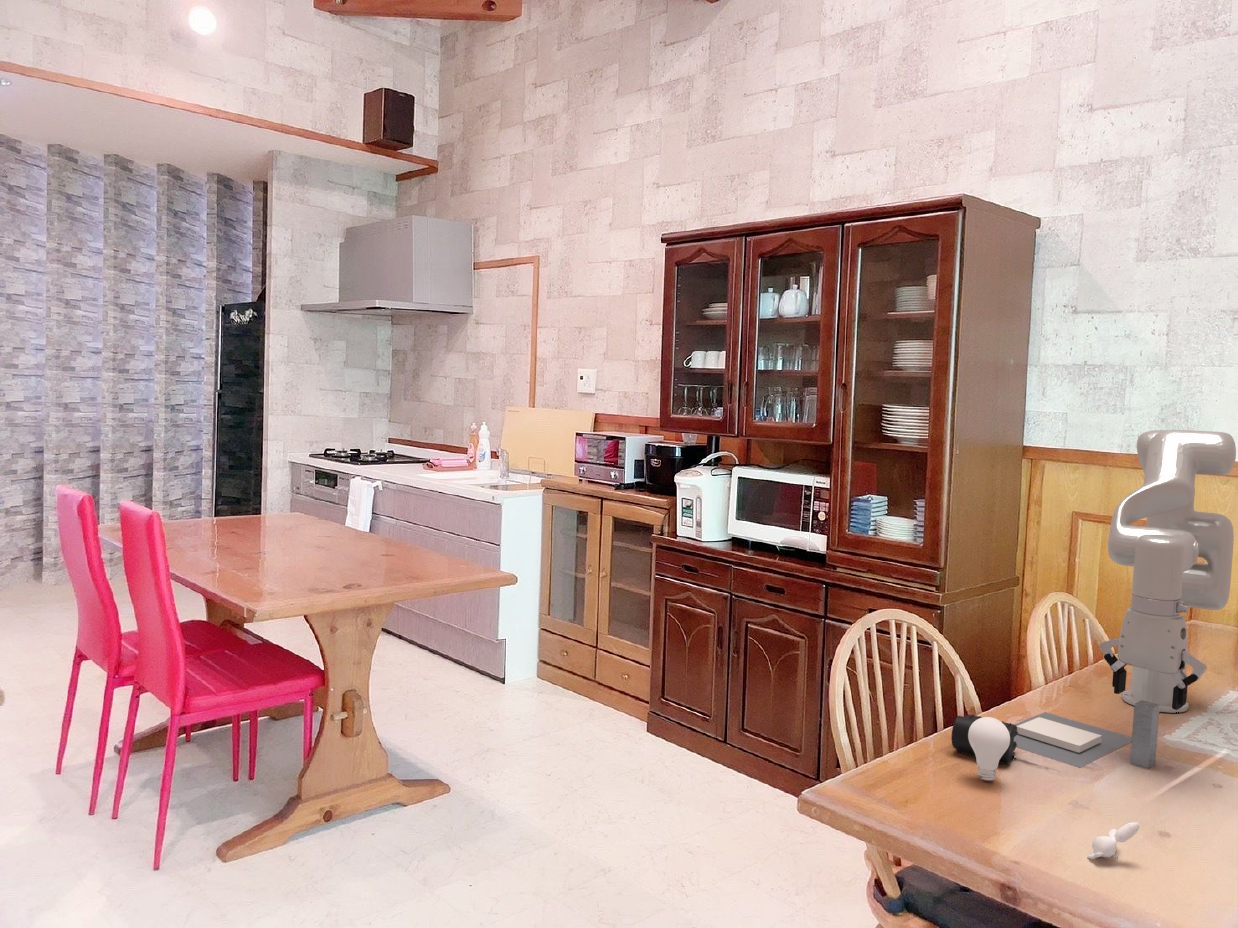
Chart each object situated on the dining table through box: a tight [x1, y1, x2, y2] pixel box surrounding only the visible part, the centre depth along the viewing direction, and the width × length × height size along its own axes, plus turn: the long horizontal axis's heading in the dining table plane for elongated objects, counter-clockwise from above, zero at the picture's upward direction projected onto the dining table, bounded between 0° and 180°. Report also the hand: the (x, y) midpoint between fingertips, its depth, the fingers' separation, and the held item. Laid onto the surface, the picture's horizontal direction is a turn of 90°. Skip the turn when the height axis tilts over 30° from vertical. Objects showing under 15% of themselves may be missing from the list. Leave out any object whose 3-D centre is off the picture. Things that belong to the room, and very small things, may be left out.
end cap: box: [951, 714, 1018, 765], centre depth 172 cm, size 10×7×7 cm
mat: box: [1014, 711, 1132, 769], centre depth 180 cm, size 24×18×1 cm
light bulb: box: [968, 716, 1010, 783], centre depth 161 cm, size 7×7×11 cm
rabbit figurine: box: [1087, 821, 1140, 860], centre depth 135 cm, size 6×4×8 cm
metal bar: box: [1129, 700, 1160, 770], centre depth 168 cm, size 3×3×12 cm
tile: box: [1017, 717, 1102, 753], centre depth 179 cm, size 2×12×9 cm
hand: (1147, 699), depth 168 cm, fingers open, 9 cm apart
